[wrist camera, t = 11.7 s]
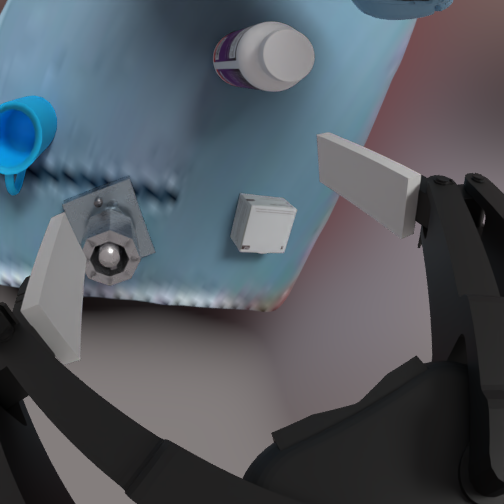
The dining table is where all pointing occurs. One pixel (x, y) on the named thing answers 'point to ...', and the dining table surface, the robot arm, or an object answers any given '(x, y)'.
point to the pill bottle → (264, 57)
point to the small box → (262, 224)
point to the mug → (24, 136)
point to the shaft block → (104, 199)
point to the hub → (116, 231)
